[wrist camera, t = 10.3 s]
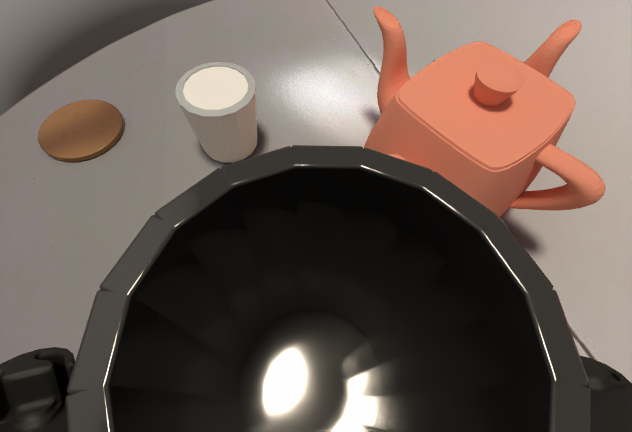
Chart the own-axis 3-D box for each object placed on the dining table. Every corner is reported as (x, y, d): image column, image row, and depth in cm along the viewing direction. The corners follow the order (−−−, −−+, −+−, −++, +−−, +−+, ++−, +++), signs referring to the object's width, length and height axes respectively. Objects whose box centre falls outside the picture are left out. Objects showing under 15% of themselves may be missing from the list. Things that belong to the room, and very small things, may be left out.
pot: (355, 103, 39) (376, -13, 28) (508, 119, 38) (589, 7, 28) (345, 252, 30) (369, 167, 19) (544, 275, 30) (685, 200, 19)
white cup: (209, 112, 37) (190, 55, 31) (270, 122, 37) (264, 66, 31) (187, 162, 34) (161, 108, 28) (254, 172, 34) (243, 121, 27)
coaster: (23, 143, 34) (19, 139, 34) (83, 94, 38) (80, 90, 37) (84, 173, 33) (81, 170, 32) (140, 119, 36) (138, 115, 36)
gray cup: (199, 434, 13) (-78, 521, 3) (272, 281, 16) (233, 102, 7) (361, 515, 12) (599, 942, 3) (407, 336, 15) (592, 220, 6)
